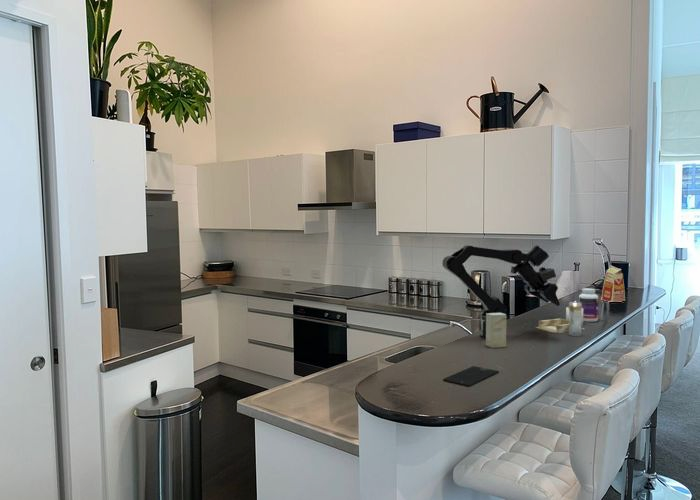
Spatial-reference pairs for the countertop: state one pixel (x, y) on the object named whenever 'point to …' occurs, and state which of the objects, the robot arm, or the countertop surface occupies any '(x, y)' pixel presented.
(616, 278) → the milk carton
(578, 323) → the cell
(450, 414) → the countertop surface
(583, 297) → the pill bottle
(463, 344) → the countertop surface
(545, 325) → the cradle
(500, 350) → the countertop surface
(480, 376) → the cell phone
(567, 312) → the white rounded cylinder
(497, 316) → the skincare box
